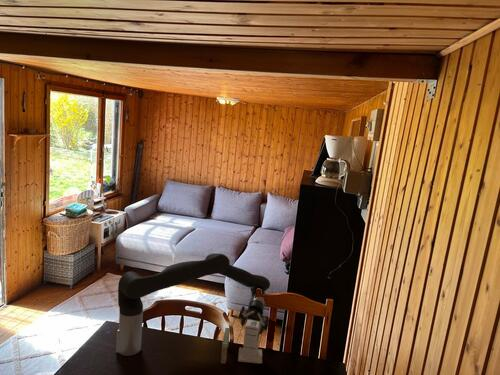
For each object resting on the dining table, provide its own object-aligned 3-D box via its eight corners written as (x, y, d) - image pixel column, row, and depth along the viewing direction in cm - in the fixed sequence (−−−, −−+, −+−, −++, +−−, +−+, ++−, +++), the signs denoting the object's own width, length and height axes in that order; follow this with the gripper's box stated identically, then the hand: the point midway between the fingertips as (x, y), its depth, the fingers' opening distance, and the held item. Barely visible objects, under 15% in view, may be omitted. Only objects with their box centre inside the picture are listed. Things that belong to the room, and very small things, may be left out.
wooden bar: (222, 347, 146) (222, 343, 146) (225, 330, 158) (225, 327, 158) (226, 347, 146) (227, 344, 146) (229, 331, 158) (229, 328, 158)
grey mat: (238, 361, 149) (238, 359, 149) (239, 349, 157) (239, 347, 157) (261, 363, 149) (262, 361, 149) (261, 351, 157) (262, 349, 157)
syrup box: (255, 360, 149) (258, 327, 147) (241, 357, 150) (244, 325, 148) (257, 352, 155) (260, 321, 153) (244, 350, 155) (247, 318, 154)
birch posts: (220, 363, 147) (222, 347, 146) (223, 345, 159) (225, 330, 158) (225, 363, 146) (226, 347, 146) (228, 345, 159) (229, 331, 158)
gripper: (246, 294, 173) (240, 316, 158) (272, 306, 173) (269, 329, 158) (240, 305, 176) (234, 328, 161) (266, 317, 176) (262, 341, 161)
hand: (251, 328), depth 159 cm, fingers open, 8 cm apart
